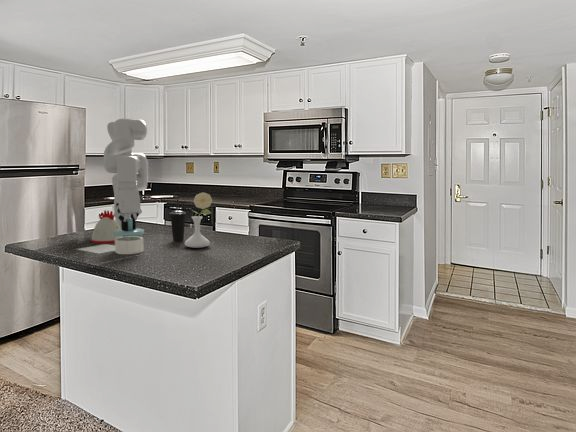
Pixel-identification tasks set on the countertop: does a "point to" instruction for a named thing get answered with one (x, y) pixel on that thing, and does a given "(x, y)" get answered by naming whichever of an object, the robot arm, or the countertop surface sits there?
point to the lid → (129, 230)
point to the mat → (99, 248)
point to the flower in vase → (197, 238)
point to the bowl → (129, 245)
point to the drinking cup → (178, 224)
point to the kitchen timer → (105, 229)
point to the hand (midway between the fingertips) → (128, 229)
